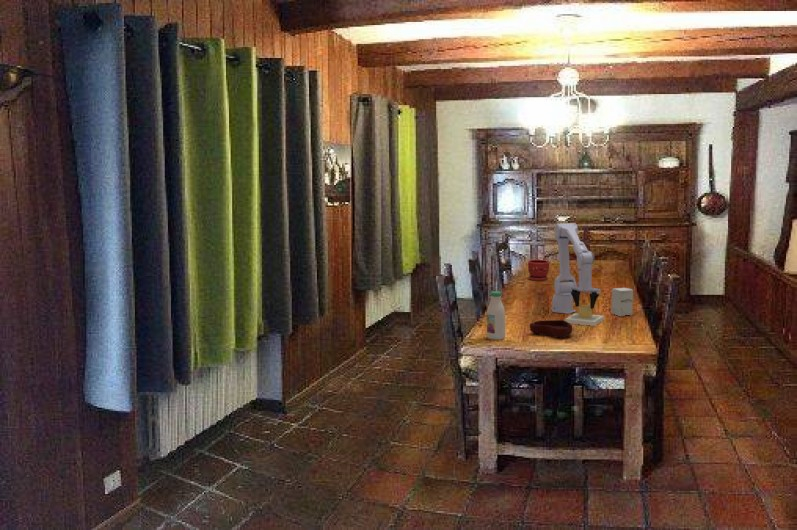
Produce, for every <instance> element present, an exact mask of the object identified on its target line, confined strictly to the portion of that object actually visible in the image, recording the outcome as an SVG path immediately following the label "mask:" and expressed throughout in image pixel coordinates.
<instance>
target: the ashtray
mask: <svg viewBox="0 0 797 530" xmlns="http://www.w3.org/2000/svg"><path fill="white" fill-rule="evenodd" d="M529 330H530V331H531V332H532V334H533V335H534V334H536V336H540V335H543V336H547V337H555V338H556V339H559V338H563V339H564V338H565V337H568V336H570V335H571V334H572V332H573V324H569V323H568V322H566V321H565V319H564V320H563V319H560V320H559V319H558V320H557V319H556V320H555V319H553V320H536V321H534V322H531V323H529ZM539 334H540V335H539Z"/></svg>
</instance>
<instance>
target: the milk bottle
mask: <svg viewBox="0 0 797 530" xmlns="http://www.w3.org/2000/svg"><path fill="white" fill-rule="evenodd" d="M489 295H490V301H489V303H488V306H487V311H486V337H487V339H488V340H493V341H495V340H499V341H500V340H505V338H506V310H505V307H504V305H503V302H502V292H501V291H499V290H496V291H490V294H489Z"/></svg>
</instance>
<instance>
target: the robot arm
mask: <svg viewBox="0 0 797 530" xmlns="http://www.w3.org/2000/svg"><path fill="white" fill-rule="evenodd" d="M578 230H579V227H578V224H577V223H576V222H570V223H569V222H567V223H566V222H565V223H559V222H557V223H556V224H555V226H554V230H553V231H554V240H555V241H557V247H558V248H557V249H558V263H559V275H557V276H556V277H555V278H554V284H553V288H554V289H553V291H554V292H555V293H554V294H553V296H552V304H551V305H552V308H551V309H552V310H551V312H553V313H559V314H560V313H561V314H567V315H569V314H572V313H576V312H577V310H575V309H573V307H574V306H575V307H577V308H578V306H580V295H581V293H583V292H584V293H589V299H590V301H589V302H590V305H589V306H590V307H591V309H592V310H593V309H595V306H596V302H597V300H598V298H599V296H600V294H601V288H595V287H593V286H592V279H593V277H592V272H593V269H592V268H593V265H594V263H595V255H594V252H592V251H590V250H589V249H588V248H587V246H586V245H585V243H584V242H583V241H581V239H580V238H579V234H578V233H579V231H578ZM569 242H571V244H572V250H573V252H574V253H575V255H576V264H577V269H578V285H577V282H576V278H575V277H574V276H573V275H572V274H571V267H570V253H569V252H570V249H569V248H570V247H569ZM574 304H575V305H574ZM573 305H574V306H573Z"/></svg>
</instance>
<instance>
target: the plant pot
mask: <svg viewBox="0 0 797 530" xmlns="http://www.w3.org/2000/svg"><path fill="white" fill-rule="evenodd" d="M527 263H528V264H527V266H528V268H527V270H528V274H529V276H528V279H530V280H531V281H536V282H537V281H538V282H542V281H545V280H547V279H548V276H547V275H548V274H549V269H550V261H549V260H547V259H545V260H544V259H530V260H528V262H527Z"/></svg>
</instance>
